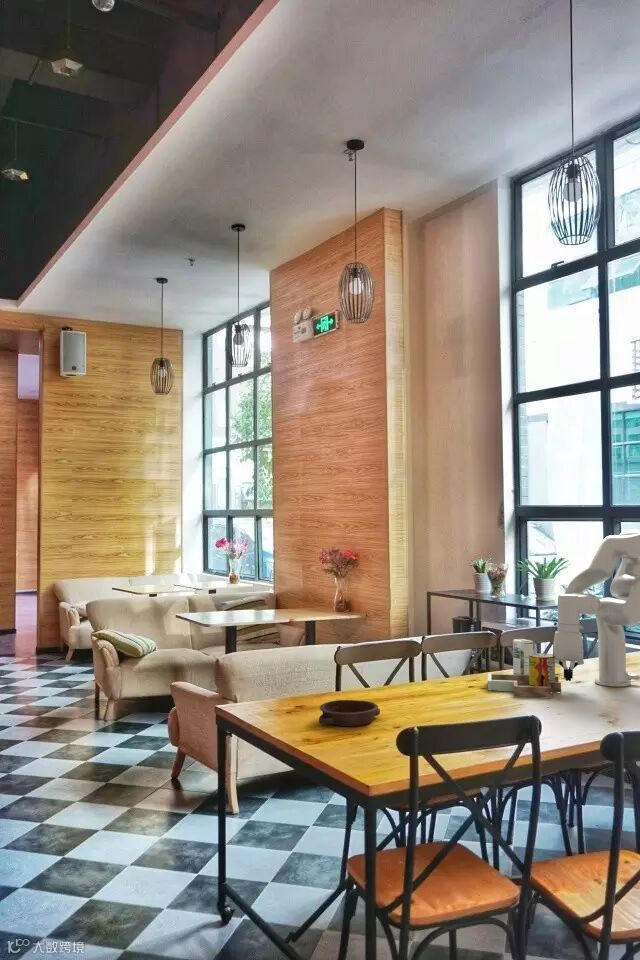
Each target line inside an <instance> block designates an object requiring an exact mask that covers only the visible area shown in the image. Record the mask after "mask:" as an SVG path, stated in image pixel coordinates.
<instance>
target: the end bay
mask: <svg viewBox="0 0 640 960" xmlns="http://www.w3.org/2000/svg"><path fill="white" fill-rule="evenodd" d="M491 674H492V673H490V672H489V673H488V674H487V691H488V690H490V691H489V692H491V690H497V691H496V692H514V681H506V680H492V677H491ZM515 682H517V681H515Z"/></svg>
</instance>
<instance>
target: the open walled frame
mask: <svg viewBox="0 0 640 960" xmlns="http://www.w3.org/2000/svg"><path fill="white" fill-rule="evenodd" d="M491 677H492V680H506V681H514V691H513V695H514V696H519V698H537V697H552V693H551V692H561V693H562V682H559V676H558V675H555V682H546V687H537V686H530V684H529V675H513V674H510V673H508V674H507V673H506V674H505V673H491ZM515 681H517V682H515ZM552 698H553V697H552Z"/></svg>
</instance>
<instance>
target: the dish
mask: <svg viewBox="0 0 640 960" xmlns="http://www.w3.org/2000/svg"><path fill="white" fill-rule="evenodd" d="M319 710H320V712H322V714H321V715H320V716H319V717H318V722H319V723H320V724H321V725H333V726H339V727H359V726H363V725H367V724H370V723H372V721H374V719H375V717H377V716H379V715H380V714H381V708H379V705H378V704H377V703H374V702H372V701H368V700H367V701H366V700H360V699H359V700H358V699H337V700H331V701H330V700H329V701H327V702H323V703H322V704H320V705H319Z"/></svg>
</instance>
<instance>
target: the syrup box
mask: <svg viewBox="0 0 640 960" xmlns="http://www.w3.org/2000/svg"><path fill="white" fill-rule="evenodd" d="M533 653H534V641H533V640H530V639H525V638H515V639H512V658H513V659H512V665H513V666H512V667H513V668H512V671H513V672H512V673H513V675H529V654H533Z"/></svg>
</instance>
